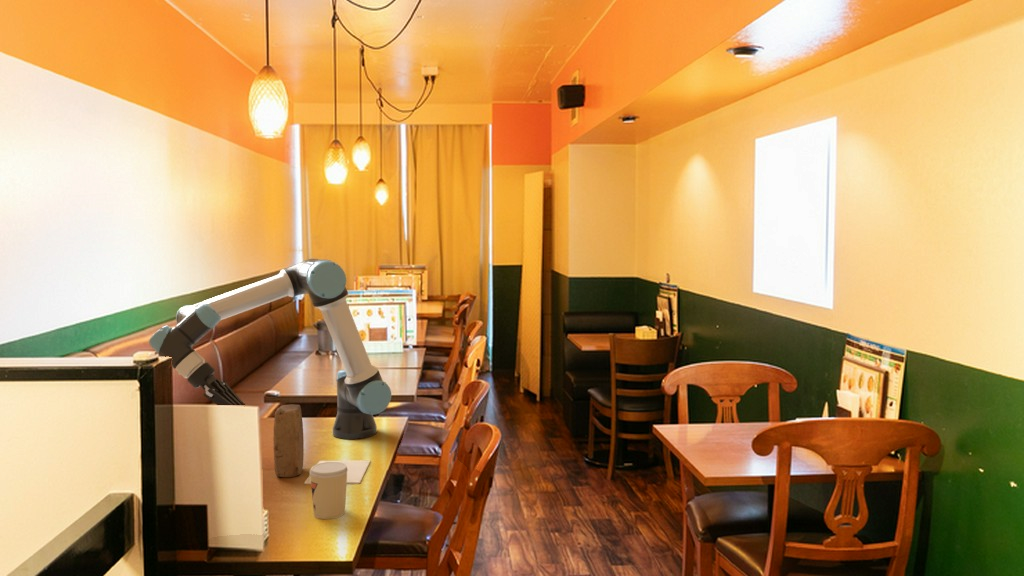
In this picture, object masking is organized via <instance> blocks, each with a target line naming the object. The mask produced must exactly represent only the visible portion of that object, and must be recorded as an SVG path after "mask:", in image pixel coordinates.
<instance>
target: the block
mask: <svg viewBox="0 0 1024 576" xmlns="http://www.w3.org/2000/svg"><path fill="white" fill-rule="evenodd" d="M303 425H304V424H303V416H302V408H301V405H300V404H291V403H290V404H282V405H280V406H279V407H277V409H276V411H275V412H274V422H273V463H274V465H273V466H274V473H275V476H276V477H279V478H293V477H296V476H299V475H301V474H302V472H303V467H304V460H305V459H304V455H305V452H304V450H305V449H304V447H305V445H304V443H305V440H304V426H303Z"/></svg>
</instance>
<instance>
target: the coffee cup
mask: <svg viewBox="0 0 1024 576" xmlns="http://www.w3.org/2000/svg"><path fill="white" fill-rule="evenodd" d="M347 471H348V468H347V467H346V465H345V464H343V463H339V462H325V463H320V464H318V463H317V464H315V465H313V466H311V468H310V469H309V475H310V476H311V484H310V487H311V498H312V499H311V500H312V510H313V515H314V517H315V518H317V519H322V520H331V519H336V518H340V517H341V516H343V515H345V513H346V498H347Z"/></svg>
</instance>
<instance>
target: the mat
mask: <svg viewBox="0 0 1024 576" xmlns="http://www.w3.org/2000/svg"><path fill="white" fill-rule="evenodd" d="M325 462H339V463H343V464H345V465H346V467H347V468H348V471H347V484H348V485H349V484H350V485H351V484H352V485H359V484H361V482H362V480H363V478H364V476H365V473H366V471H367V469H368V467H369V465H370V463H371V460H370V459H369V460H361V459H360V460H319V461H318V462H317V464H320V463H325ZM303 484H304V485H311V476H310V474H309V475H308V477H307V478H306V479H305V480H304V483H303Z"/></svg>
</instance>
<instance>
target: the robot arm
mask: <svg viewBox="0 0 1024 576" xmlns="http://www.w3.org/2000/svg"><path fill="white" fill-rule="evenodd" d="M346 285H347V275H346V273H345V270H344V268H342V267H341V266H340V265H339V264H338V263H336V262H334V261H332V260H329V259H318V258H310V259H305V260H303V261H301V262H298V263H296V264H294V265H291V266H289V267H287V268H284V269H280V272H279V273H278V274H275V275H273V276H271V277H268V278H265V279H262V280H259V281H256V282H254V283H250V284H248V285H245V286H242V287H239V288H237V289H234V290H231V291H228V292H224V293H223V294H220V295H216V296H214V297H212V298H208V299H206V300H203V301H200V302H197V303H194V304H187V305H183V306H182V307H180V308H179V309H178V310H177V312H176V313H175V321H176V323H177V324H176V325H175V326H173V327H171V326H169V325H164V326H162V327H160V329H158V330H156V331H155V332H154V333H153V334H152V336H151V337H150V338H149V341H148V344H149V346H150V347H151V348H152V349H153V351H155V352H156V353H157V354H158V355H159V356H160V357H161V356H165V357H166V356H169V357H172V359H173V360H172V366H171V367H172V368H173V369H174V370H175V371H176V372H177V375H179V376H182V378H183V379H187V382H188V383H189V384H190V385H191V386H192V387H193V388H194V389H199V388H200V387H201V389H202V390H203V391H204V392H205V393H204V394H203V396H204V397H205V398H207V399H209V400H211V402H213V403H214V404H215V405H217V406H218V405H245V406H246V403H244V402H243V400H242V399H241V398H240V397H239V396H238V395H237V394H236V393H235V391H234V390H233V389H232V388H231V387H230V385H229V384H228V383H227V381H226V380H224V379H223V380H222V381H221V379H219V378H218V377H216V376H215V375H214V374H215V373H216V369H215V368H214V367H213V366H212V365H211V364H210V363H209V362H206V359H205V358H204V357H203V356H202V355H200V353H198V352H197V350H195V349H194V348H193V346H194V345H196V343H198V342H199V341H200V340H201V339H202V338H204V337H205V336H206V335H207V334H208V333H209V332H210V331H211V330H212V329H215V327H216V326H217V324H218V323H219V322H221V321H222V320H226V319H228V318H230V317H234V316H237V315H238V314H242V313H245V312H248V311H250V310H253V309H256V308H258V307H261V306H263V305H266V304H269V303H272V302H274V301H277V300H280V299H282V298H286V297H290V298H295V297H297V296H301V295H307V294H308V297H309V299H310V301H311V303H312V305H313V308H315V309H317V310H318V309H319V310H320V313H321V316H322V317H323V319H324V322H325V325H326V327H327V330H328V332H329V335H330V337H331V339H332V342H333V344H334V346H335V347H334V348H335V349H336V352H337V353H338V354H337V355H338V356H339V359H340V361H341V365H342V366H343V369H340V370H338V371H337V374H336V375H337V376H336V398H337V401H336V402H337V411H336V412H337V414H336V416H335V420H334V423H333V425H332V436H333V437H335V438H337V439H343V440H359V439H358V438H360V439H366V438H369V437H372V436H375V435H376V434H377V433H378V432H377V431H378V430H377V428H378V427H377V423H376V421H375V418H374V415H378V414H380V413H382V412H384V411H385V410H386V408H388V407H389V405H390V402H391V399H392V390H391V387H390V386H389V385H388V384H387V382H386V381H384V380H383V378H382V375H381V373H380V370H379V368H378V367H377V366H375V365H372V362H371V360H370V358H369V355H368V352H367V350H366V348H365V345H364V342H363V340H362V336H361V335H360V333H359V330H358V327H357V325H356V322H355V320H354V318H353V315H352V312H351V310H350V307H349V305H348V303H347V298H348V297H349V292H348V289H347V286H346ZM365 437H366V438H365Z"/></svg>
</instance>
